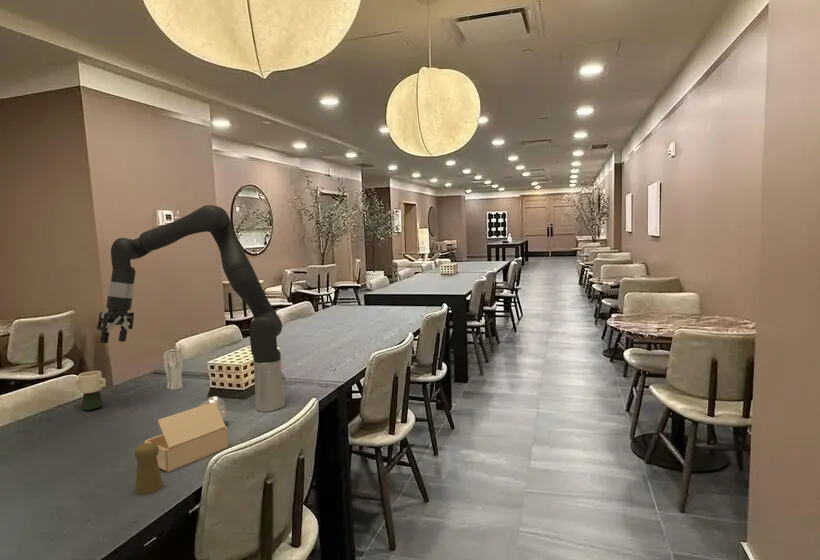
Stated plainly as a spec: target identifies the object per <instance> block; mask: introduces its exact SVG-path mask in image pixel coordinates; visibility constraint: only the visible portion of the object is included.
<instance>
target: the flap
mask: <svg viewBox="0 0 820 560" xmlns="http://www.w3.org/2000/svg"><path fill="white" fill-rule="evenodd" d="M157 423H158V425H159V428H160V430H161V433H162V434H163V435H164V438H165V440H166V443H167V445H168V448H170V447H173V446H176V445H178V444H181V443H184V442H186V441H189V440H192V439H194V438H197V437H200V436H202V435H205V434H208V433H210V432H213V431H216V430H218V429H221V428H224V427H227V426H226V423H225V422H224V419H222V417H221V415H220V412H219V410H218V408H217V405H216V403H215V402H212V403H209V404H205V405H202V406H199V405H198V406H196V407H192V408H190V409H187V410H184V411H181V412H178V413H175V414H172V415H168V416H166V417H162V418H159V419H157Z"/></svg>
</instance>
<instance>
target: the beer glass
mask: <svg viewBox="0 0 820 560" xmlns="http://www.w3.org/2000/svg"><path fill="white" fill-rule="evenodd" d="M182 351H183V350H181V349H168V350H165V351H163V367H164V371H165V375H166V381H167V382H166V390H169V389H170V391H171V390H173V391H174V390H178V389H182V388H184V384H183V380H182V375H183V367H184V366H183V365H184V364H183V363H184V359H183V352H182Z"/></svg>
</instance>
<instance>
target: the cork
mask: <svg viewBox="0 0 820 560" xmlns="http://www.w3.org/2000/svg"><path fill="white" fill-rule="evenodd" d="M158 453H159V448H158V446H157V444H155V443H145V444H144V443H142V444H139V445H138V446H137V447H136V448H135V449H134V457H135V458H134V459H135V460H136V461H137V465H136V477H135V488H134V491H135V492H134V493H135V494H136V495H141V496H143V495H150V494H154V493H156V492H159V491H160V490H161V489H162V488H163V487H164V484H163V480H162V479H163V478H162V475H161V471H160V470H161V469H160V468H159V465H158V461H157V455H158Z"/></svg>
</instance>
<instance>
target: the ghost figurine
mask: <svg viewBox="0 0 820 560" xmlns="http://www.w3.org/2000/svg"><path fill="white" fill-rule="evenodd" d="M212 402H215V403H216V405H217V408H218V410H219V412H220V415H221V417H222V419H223V420H224V419H225V418H226V417H227V415H228V413H227V412H228V408H227V407H226V402H225V401H224V399H222V398H221V397H220V396H217V395H213V396H211V397H209V398H207V400H204V401H202V402H201V403H200V404H199V405H198V407H199V406H202V405H205V404H209V403H212Z"/></svg>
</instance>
